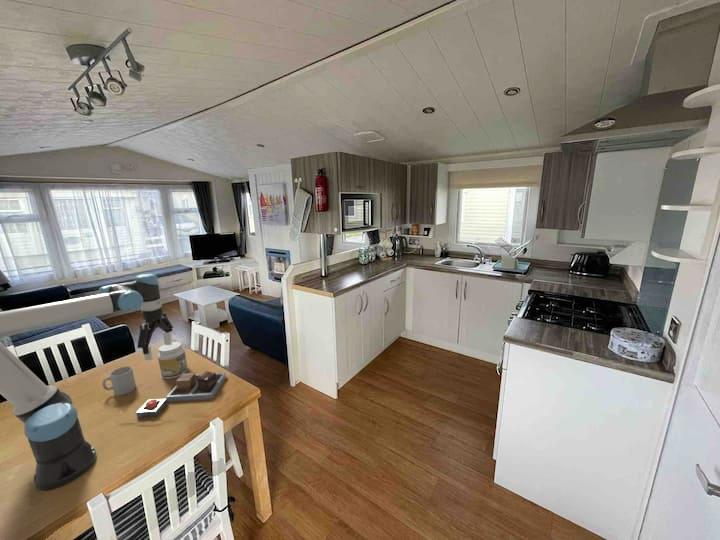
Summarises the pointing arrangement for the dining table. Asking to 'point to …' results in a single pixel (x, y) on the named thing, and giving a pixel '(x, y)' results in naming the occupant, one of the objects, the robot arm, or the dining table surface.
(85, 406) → the dining table surface
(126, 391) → the mug
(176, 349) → the supplement tub
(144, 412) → the white square piece
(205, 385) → the box
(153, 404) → the button
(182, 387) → the seated block
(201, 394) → the pallet
